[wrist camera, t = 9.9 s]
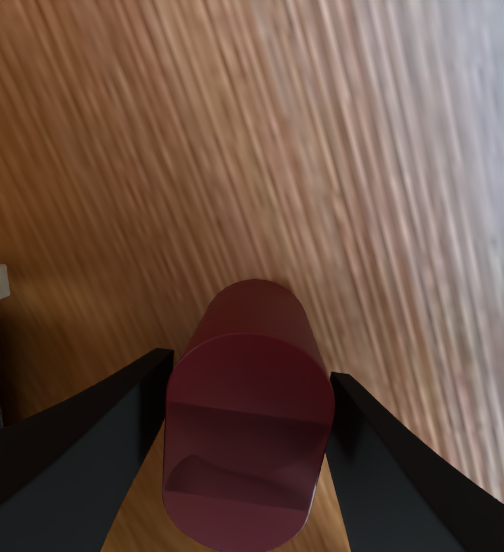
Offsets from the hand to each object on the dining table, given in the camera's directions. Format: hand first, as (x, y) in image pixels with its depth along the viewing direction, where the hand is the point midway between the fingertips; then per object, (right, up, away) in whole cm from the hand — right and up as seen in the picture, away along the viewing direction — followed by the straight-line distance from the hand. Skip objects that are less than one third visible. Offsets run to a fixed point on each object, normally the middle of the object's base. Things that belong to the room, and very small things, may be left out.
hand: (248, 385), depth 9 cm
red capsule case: (0, 0, +1) cm, 1 cm away
